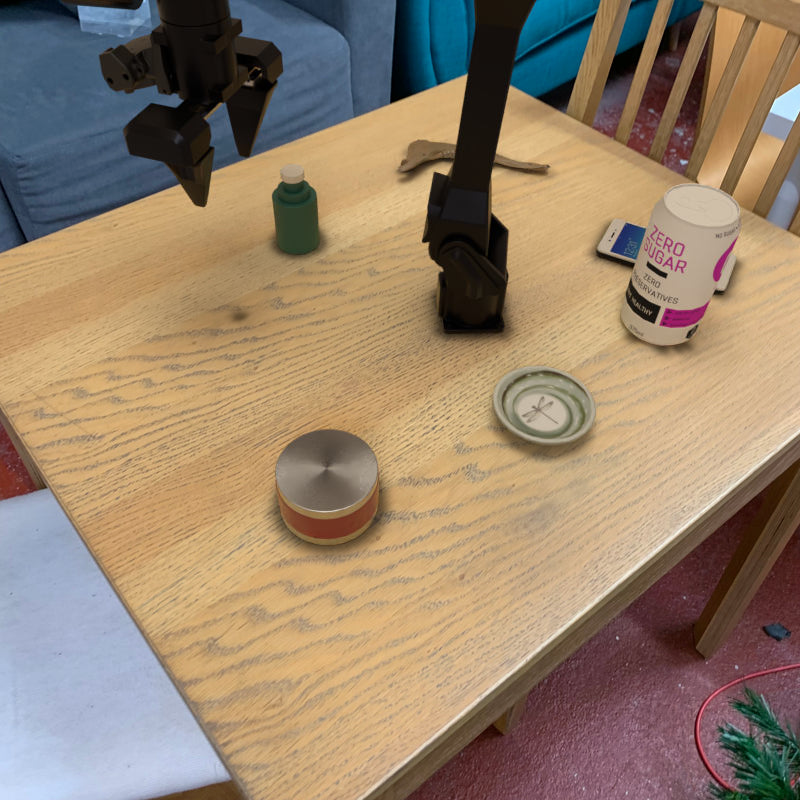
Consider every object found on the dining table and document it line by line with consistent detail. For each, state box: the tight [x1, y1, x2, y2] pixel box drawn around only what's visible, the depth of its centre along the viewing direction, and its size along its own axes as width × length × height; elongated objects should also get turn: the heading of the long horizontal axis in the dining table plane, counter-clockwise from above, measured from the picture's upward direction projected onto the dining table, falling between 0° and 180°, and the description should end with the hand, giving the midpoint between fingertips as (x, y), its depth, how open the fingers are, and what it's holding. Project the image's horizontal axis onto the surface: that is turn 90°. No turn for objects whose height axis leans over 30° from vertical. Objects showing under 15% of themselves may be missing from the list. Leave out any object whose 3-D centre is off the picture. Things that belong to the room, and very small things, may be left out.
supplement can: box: [619, 182, 742, 346], centre depth 77 cm, size 8×8×15 cm
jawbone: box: [396, 139, 551, 173], centre depth 102 cm, size 9×20×2 cm, turn 99°
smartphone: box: [595, 218, 737, 295], centre depth 89 cm, size 8×1×15 cm
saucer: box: [491, 365, 597, 446], centre depth 72 cm, size 10×10×2 cm
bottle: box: [271, 163, 321, 255], centre depth 87 cm, size 5×5×10 cm
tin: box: [274, 428, 380, 546], centre depth 64 cm, size 8×8×5 cm
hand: (223, 180), depth 74 cm, fingers open, 9 cm apart
